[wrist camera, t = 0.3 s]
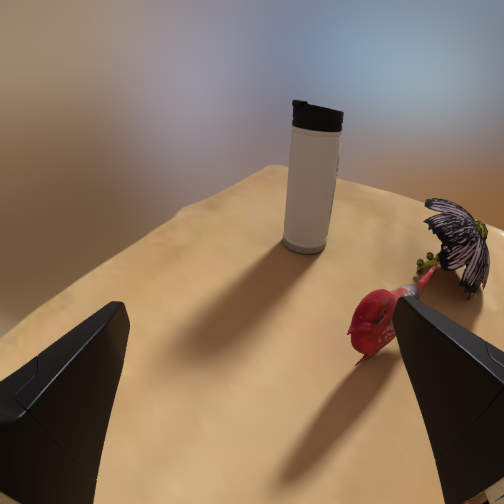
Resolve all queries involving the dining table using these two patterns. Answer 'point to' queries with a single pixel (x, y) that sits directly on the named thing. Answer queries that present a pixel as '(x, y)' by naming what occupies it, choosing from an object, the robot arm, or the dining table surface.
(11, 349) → the dining table surface
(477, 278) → the decorative flower
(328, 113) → the travel mug
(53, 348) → the robot arm
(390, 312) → the decorative bird figurine
